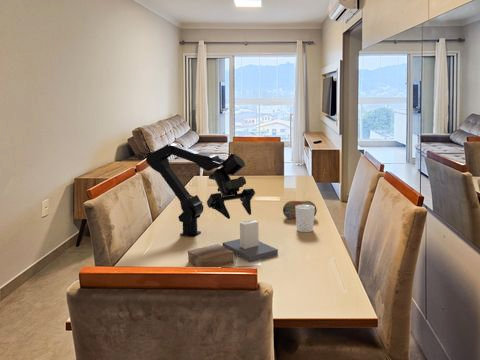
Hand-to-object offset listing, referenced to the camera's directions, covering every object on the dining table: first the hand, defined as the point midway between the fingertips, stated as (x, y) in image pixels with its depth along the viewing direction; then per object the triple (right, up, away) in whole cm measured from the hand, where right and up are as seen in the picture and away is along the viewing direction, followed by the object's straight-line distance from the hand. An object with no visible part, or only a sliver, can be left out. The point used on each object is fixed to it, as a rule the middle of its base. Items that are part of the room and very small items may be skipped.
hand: (240, 216), depth 168 cm
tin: (+27, -4, +39) cm, 48 cm away
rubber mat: (+3, -12, -2) cm, 13 cm away
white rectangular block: (+3, -10, -3) cm, 11 cm away
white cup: (+27, -8, +22) cm, 35 cm away
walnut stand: (-10, -15, -13) cm, 22 cm away
